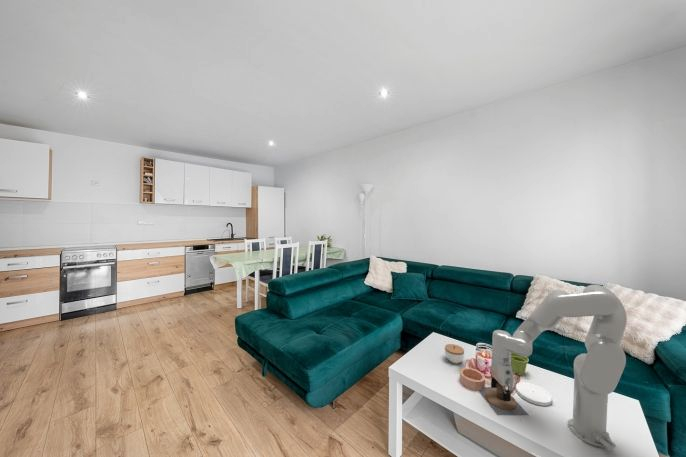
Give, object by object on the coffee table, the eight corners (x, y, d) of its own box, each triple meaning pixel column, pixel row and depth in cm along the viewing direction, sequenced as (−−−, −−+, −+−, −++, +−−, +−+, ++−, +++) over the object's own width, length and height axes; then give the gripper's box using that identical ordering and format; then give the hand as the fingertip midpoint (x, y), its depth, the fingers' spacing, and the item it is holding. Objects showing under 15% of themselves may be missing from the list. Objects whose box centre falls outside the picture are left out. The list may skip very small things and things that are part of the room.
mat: (529, 416, 108) (529, 415, 108) (497, 415, 108) (497, 415, 108) (502, 387, 126) (502, 387, 126) (475, 387, 126) (475, 387, 126)
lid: (522, 410, 111) (523, 394, 111) (495, 410, 111) (495, 394, 111) (504, 390, 123) (505, 376, 123) (479, 390, 123) (480, 376, 123)
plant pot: (532, 377, 134) (533, 361, 134) (515, 377, 135) (515, 361, 134) (520, 367, 144) (521, 352, 143) (504, 367, 144) (504, 352, 144)
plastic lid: (514, 383, 130) (514, 379, 130) (548, 393, 123) (548, 388, 122) (516, 400, 118) (517, 395, 118) (555, 412, 111) (555, 406, 110)
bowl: (489, 391, 123) (489, 381, 123) (466, 391, 123) (466, 381, 123) (477, 376, 135) (477, 367, 135) (456, 376, 135) (456, 367, 135)
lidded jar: (440, 358, 153) (441, 343, 152) (453, 354, 157) (453, 339, 157) (455, 367, 143) (455, 352, 143) (468, 363, 147) (468, 347, 147)
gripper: (522, 369, 108) (521, 408, 108) (497, 348, 125) (496, 381, 126) (505, 369, 108) (504, 407, 108) (482, 348, 125) (482, 381, 126)
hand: (500, 393), depth 117 cm, fingers open, 8 cm apart
